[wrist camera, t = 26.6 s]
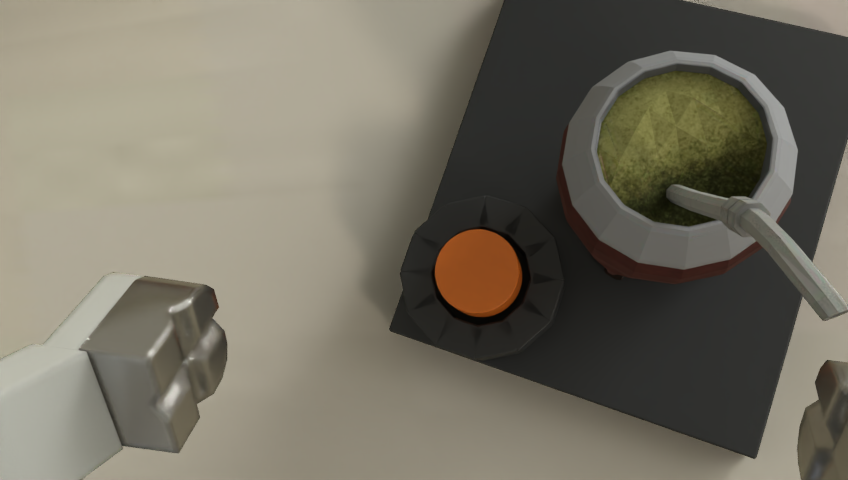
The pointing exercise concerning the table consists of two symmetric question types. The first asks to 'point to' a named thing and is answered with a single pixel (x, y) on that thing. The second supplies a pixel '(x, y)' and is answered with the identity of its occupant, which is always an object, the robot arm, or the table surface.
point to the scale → (572, 262)
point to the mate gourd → (684, 174)
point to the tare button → (478, 273)
